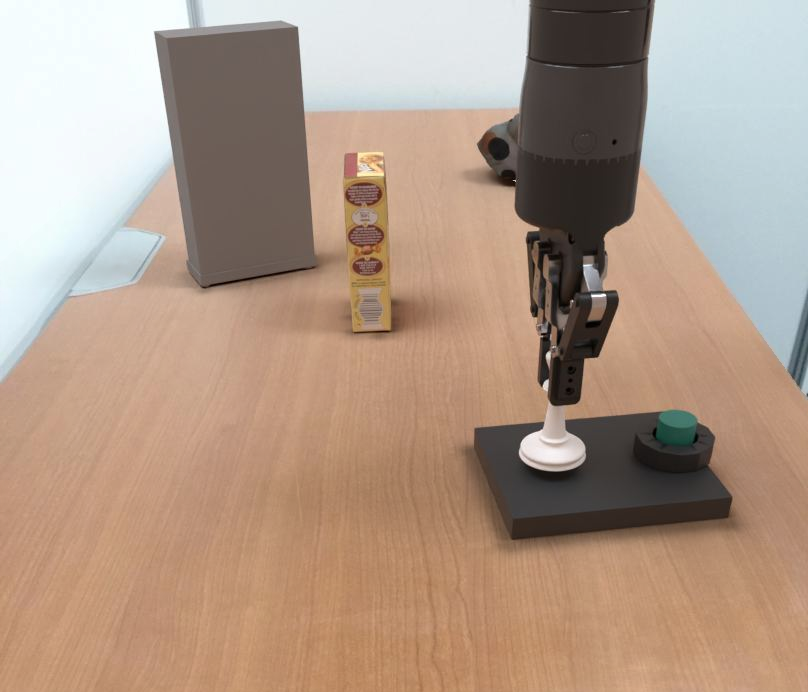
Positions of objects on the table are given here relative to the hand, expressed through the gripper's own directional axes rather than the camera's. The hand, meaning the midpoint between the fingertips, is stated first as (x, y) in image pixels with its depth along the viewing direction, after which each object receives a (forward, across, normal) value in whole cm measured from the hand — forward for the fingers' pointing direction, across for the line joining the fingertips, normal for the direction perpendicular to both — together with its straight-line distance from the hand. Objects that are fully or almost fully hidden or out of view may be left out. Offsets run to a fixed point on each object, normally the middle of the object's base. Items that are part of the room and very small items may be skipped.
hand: (558, 393), depth 68 cm
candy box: (+8, +35, +10) cm, 37 cm away
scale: (+8, 0, -3) cm, 9 cm away
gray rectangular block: (+8, +51, +22) cm, 56 cm away
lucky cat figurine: (+8, +82, -20) cm, 85 cm away
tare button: (+5, 0, -9) cm, 11 cm away
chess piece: (+5, 0, 0) cm, 5 cm away
